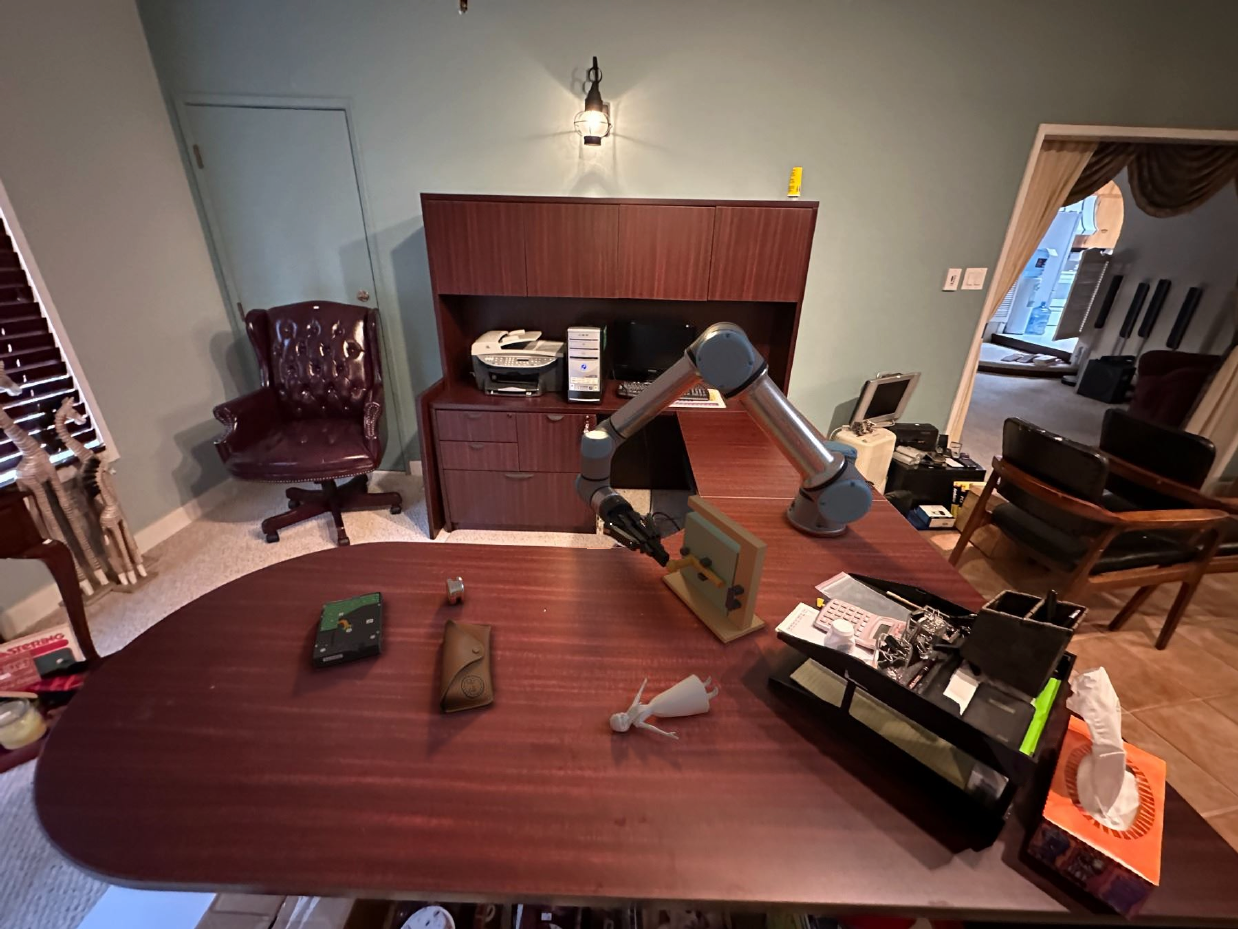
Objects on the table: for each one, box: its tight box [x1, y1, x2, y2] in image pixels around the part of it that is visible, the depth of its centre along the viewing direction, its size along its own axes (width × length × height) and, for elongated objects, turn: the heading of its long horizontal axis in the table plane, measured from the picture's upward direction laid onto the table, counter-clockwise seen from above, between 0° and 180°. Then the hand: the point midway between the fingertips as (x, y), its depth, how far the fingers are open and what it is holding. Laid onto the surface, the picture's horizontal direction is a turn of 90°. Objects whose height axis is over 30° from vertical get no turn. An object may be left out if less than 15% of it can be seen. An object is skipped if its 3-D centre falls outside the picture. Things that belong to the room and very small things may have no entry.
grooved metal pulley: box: [445, 575, 467, 605], centre depth 99 cm, size 5×3×5 cm, turn 29°
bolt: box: [665, 554, 724, 588], centre depth 98 cm, size 7×10×3 cm
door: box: [662, 494, 768, 644], centre depth 99 cm, size 10×21×20 cm, turn 29°
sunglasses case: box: [438, 618, 495, 714], centre depth 84 cm, size 18×7×7 cm, turn 16°
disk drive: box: [312, 591, 384, 669], centre depth 90 cm, size 10×3×15 cm
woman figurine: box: [609, 673, 719, 740], centre depth 77 cm, size 12×4×18 cm
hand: (666, 561), depth 101 cm, fingers closed
